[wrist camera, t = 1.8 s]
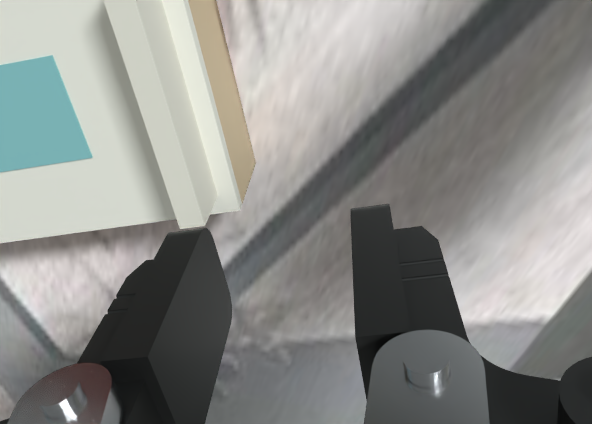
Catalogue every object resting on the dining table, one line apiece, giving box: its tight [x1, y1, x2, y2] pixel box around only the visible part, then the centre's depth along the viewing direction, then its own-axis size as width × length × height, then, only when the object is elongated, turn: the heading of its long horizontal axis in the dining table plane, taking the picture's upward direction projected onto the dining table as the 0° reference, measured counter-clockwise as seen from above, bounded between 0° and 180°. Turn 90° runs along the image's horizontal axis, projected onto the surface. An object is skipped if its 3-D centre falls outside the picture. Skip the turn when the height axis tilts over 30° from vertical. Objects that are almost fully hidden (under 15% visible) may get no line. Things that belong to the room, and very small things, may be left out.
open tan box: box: [188, 0, 256, 203], centre depth 29 cm, size 18×13×5 cm
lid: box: [0, 0, 242, 243], centre depth 25 cm, size 18×13×4 cm
